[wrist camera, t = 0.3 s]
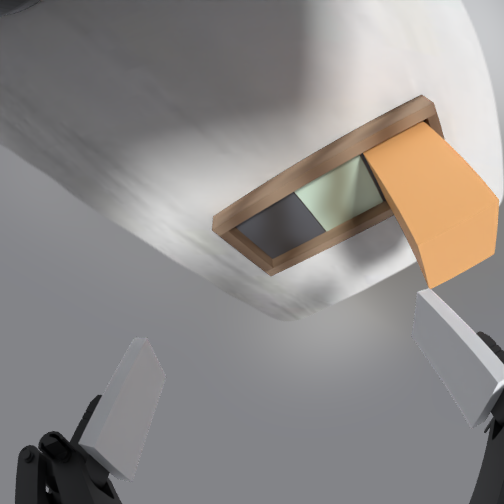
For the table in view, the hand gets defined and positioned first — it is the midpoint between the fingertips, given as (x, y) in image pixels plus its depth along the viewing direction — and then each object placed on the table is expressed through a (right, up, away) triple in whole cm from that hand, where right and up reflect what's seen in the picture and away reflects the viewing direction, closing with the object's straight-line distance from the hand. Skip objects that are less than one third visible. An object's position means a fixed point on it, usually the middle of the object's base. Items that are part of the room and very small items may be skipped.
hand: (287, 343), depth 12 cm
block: (+11, +12, +8) cm, 18 cm away
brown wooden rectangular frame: (+6, +10, +11) cm, 16 cm away
